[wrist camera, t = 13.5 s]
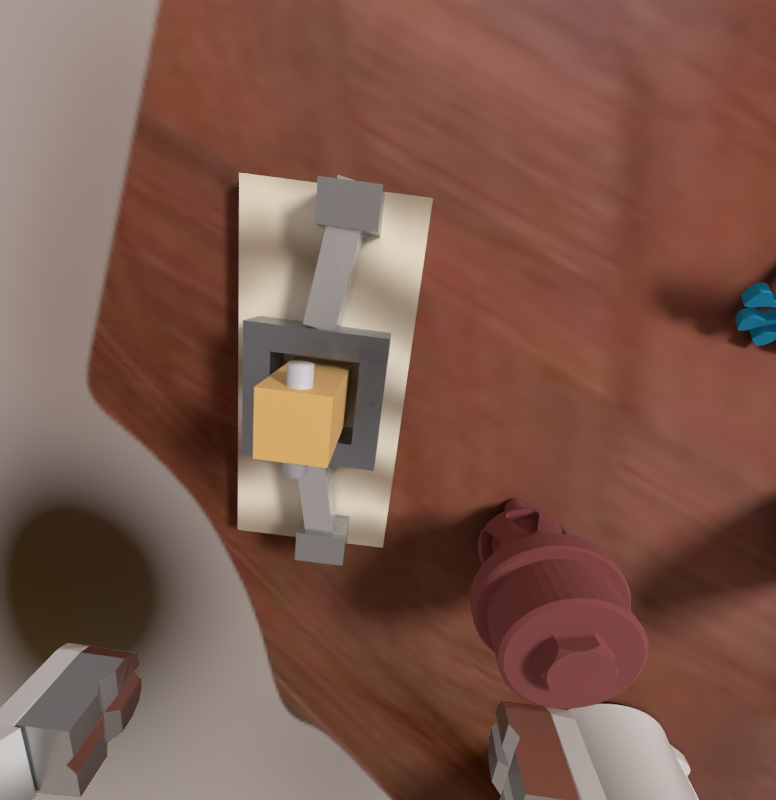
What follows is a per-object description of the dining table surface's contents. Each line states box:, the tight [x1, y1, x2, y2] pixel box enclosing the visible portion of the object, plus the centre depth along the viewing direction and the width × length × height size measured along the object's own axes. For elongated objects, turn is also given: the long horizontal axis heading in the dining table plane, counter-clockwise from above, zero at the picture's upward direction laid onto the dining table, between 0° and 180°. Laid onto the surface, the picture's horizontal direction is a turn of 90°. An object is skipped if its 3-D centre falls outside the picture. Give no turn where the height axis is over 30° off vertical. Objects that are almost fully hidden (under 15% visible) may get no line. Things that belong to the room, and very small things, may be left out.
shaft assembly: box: [242, 175, 391, 566], centre depth 26 cm, size 26×9×3 cm, turn 173°
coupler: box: [253, 357, 352, 479], centre depth 23 cm, size 6×4×8 cm, turn 173°
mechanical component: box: [470, 499, 648, 709], centre depth 26 cm, size 12×10×10 cm
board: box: [238, 173, 433, 548], centre depth 28 cm, size 26×12×2 cm, turn 173°
